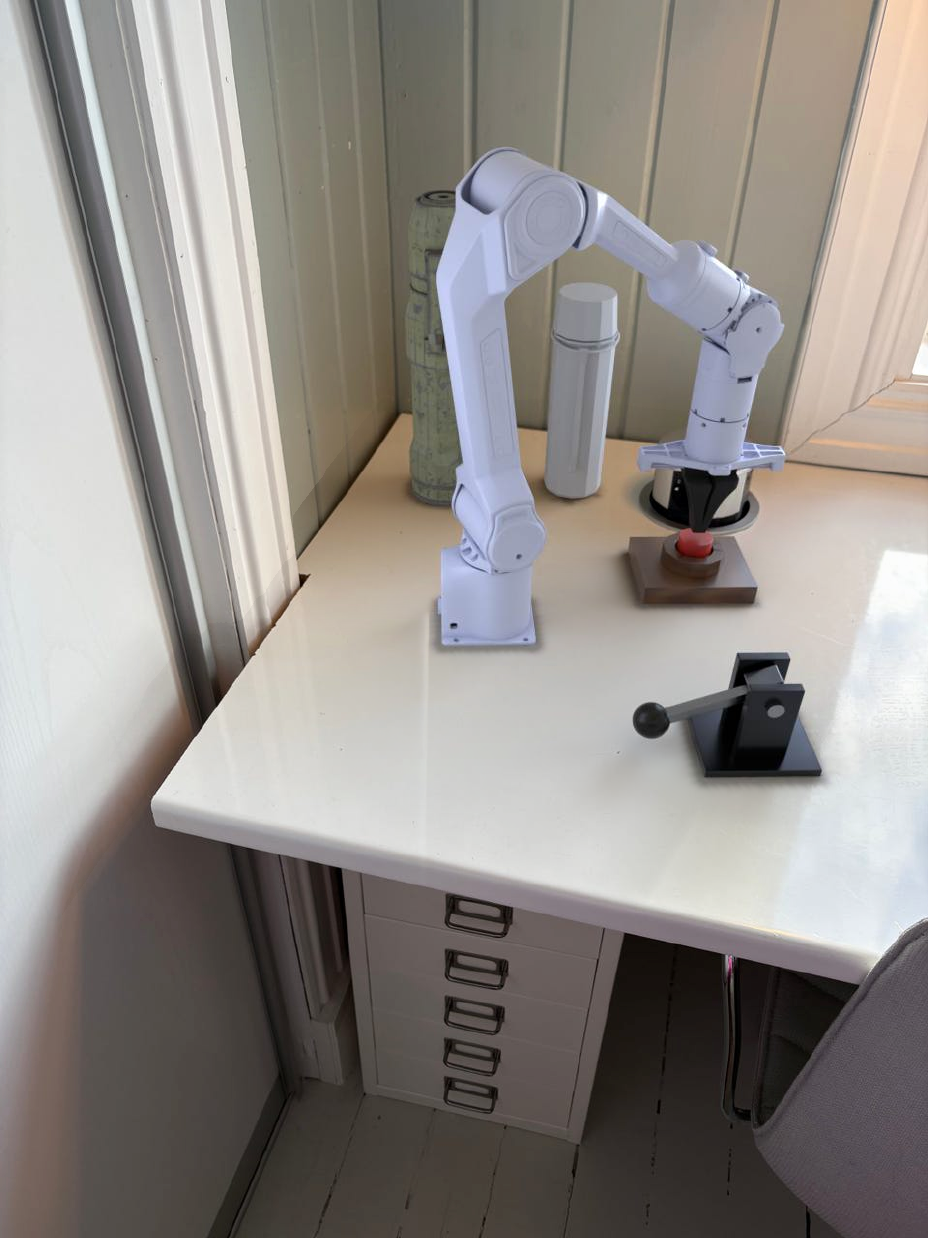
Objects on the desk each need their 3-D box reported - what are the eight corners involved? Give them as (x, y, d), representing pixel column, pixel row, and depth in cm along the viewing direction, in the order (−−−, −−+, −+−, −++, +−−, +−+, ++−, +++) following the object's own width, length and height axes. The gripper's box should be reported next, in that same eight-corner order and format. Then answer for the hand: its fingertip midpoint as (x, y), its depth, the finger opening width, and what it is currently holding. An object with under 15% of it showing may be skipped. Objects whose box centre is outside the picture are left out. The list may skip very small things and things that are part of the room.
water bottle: (542, 471, 122) (555, 279, 107) (602, 476, 121) (624, 282, 106) (537, 507, 115) (550, 306, 99) (601, 512, 114) (624, 310, 99)
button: (680, 559, 100) (682, 545, 98) (673, 541, 102) (676, 527, 101) (713, 559, 100) (716, 545, 99) (706, 541, 102) (708, 527, 101)
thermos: (481, 466, 123) (486, 182, 102) (478, 513, 114) (484, 210, 92) (414, 464, 123) (406, 180, 102) (406, 511, 114) (395, 209, 92)
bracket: (704, 779, 79) (722, 704, 74) (684, 715, 86) (700, 641, 80) (819, 778, 80) (846, 703, 74) (792, 714, 86) (814, 640, 81)
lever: (641, 750, 81) (631, 726, 79) (635, 724, 83) (625, 700, 81) (791, 708, 78) (784, 682, 76) (780, 682, 80) (773, 656, 78)
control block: (642, 604, 99) (647, 574, 97) (627, 552, 107) (631, 523, 105) (753, 603, 99) (761, 573, 97) (730, 552, 107) (737, 522, 105)
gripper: (654, 428, 88) (636, 548, 96) (806, 428, 88) (775, 548, 96) (641, 396, 93) (625, 512, 101) (784, 396, 93) (756, 512, 102)
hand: (697, 527), depth 99 cm, fingers closed
